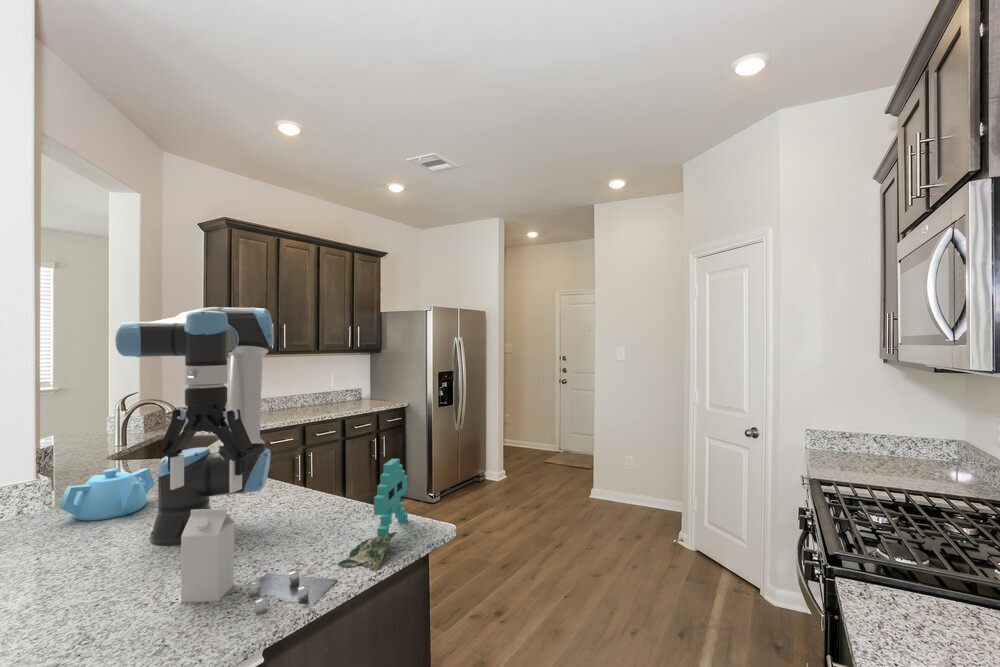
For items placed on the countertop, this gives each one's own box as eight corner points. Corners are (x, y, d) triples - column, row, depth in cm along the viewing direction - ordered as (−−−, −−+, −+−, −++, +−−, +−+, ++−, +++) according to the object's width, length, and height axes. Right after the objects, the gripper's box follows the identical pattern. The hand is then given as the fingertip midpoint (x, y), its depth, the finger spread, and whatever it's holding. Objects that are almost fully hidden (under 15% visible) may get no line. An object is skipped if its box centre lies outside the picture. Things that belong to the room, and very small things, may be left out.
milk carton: (199, 592, 103) (200, 503, 103) (234, 590, 103) (234, 503, 103) (180, 611, 96) (180, 516, 96) (217, 609, 96) (218, 515, 96)
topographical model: (345, 546, 126) (342, 537, 126) (399, 537, 124) (397, 529, 123) (315, 585, 110) (312, 575, 110) (376, 576, 108) (373, 566, 108)
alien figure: (382, 549, 123) (382, 472, 123) (374, 549, 123) (373, 471, 123) (407, 519, 143) (407, 453, 143) (400, 519, 143) (400, 452, 143)
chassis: (210, 625, 91) (210, 604, 91) (267, 579, 108) (267, 562, 108) (292, 634, 88) (292, 612, 88) (337, 586, 105) (337, 568, 105)
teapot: (56, 529, 136) (57, 480, 136) (87, 507, 154) (88, 464, 154) (137, 520, 143) (138, 474, 143) (158, 500, 161) (158, 459, 161)
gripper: (137, 386, 97) (137, 491, 97) (248, 388, 93) (248, 498, 93) (169, 383, 104) (168, 481, 104) (273, 384, 100) (272, 486, 100)
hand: (206, 489), depth 98 cm, fingers open, 13 cm apart
